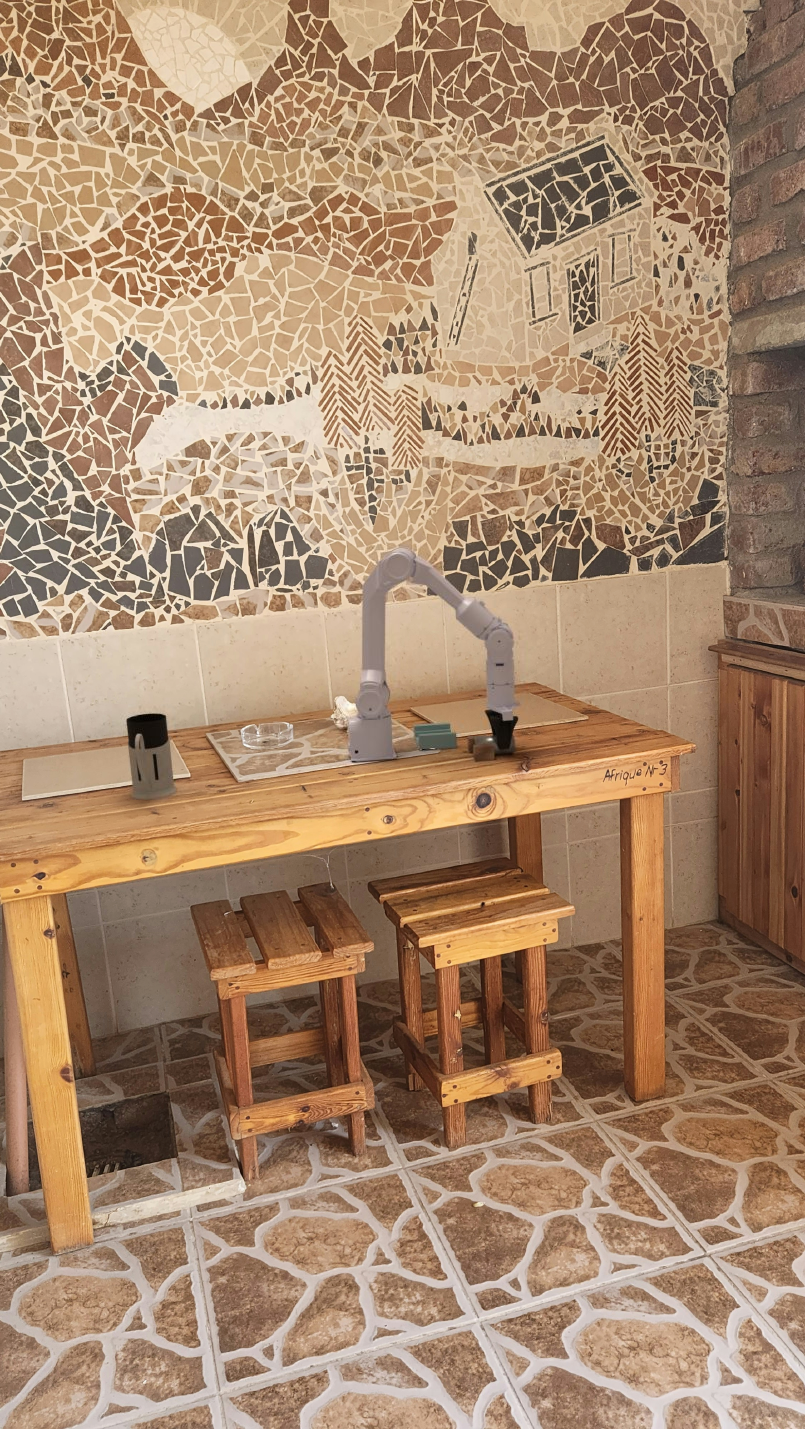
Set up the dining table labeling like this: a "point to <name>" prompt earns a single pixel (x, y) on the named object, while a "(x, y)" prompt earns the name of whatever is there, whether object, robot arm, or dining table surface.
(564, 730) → the dining table surface
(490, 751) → the block
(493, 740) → the axle
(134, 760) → the glass holder
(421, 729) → the v block
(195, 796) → the dining table surface
